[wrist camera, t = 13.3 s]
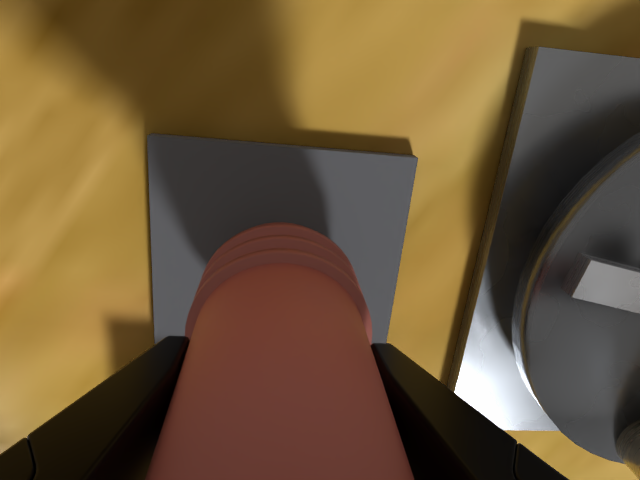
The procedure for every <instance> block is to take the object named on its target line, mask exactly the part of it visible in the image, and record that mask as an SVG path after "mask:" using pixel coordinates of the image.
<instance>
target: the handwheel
mask: <svg viewBox="0 0 640 480" xmlns="http://www.w3.org/2000/svg"><path fill="white" fill-rule="evenodd" d="M512 343H513V348H514V354H515V359H516V363H517V366H518V368H519V371H520V374H521V377H522V379H523V381H524V383H525V384H526V386H527V388H528V390H529V391H530V393H531V395H532V396H533V397H534V399H535V400H536V401H537V403H538V404H539V405H540V406H541V408H542V409H543V410H544V412H545V413H546V414H547V415H548V417H549V418H550V419H551V420H552V422H553V423H554V424H555V425H556V426H557V428H558V429H559V430H560V431H561V432H562V433H563V434H564V435H565V436H567V437H568V438H569V439H570V440H571V441H573V442H574V443H575V444H576V445H578V446H580V447H582V448H583V449H585V450H587V451H589V452H590V453H592V454H595V455H597V456H600V457H602V458H605V459H608V460H611V461H615V462H619V463H623V464H626V465H627V466H628V467H629V469H630V470H631V471H632V472H633V473H634V474H635V475H636V477H637V478H638V479H639V480H640V132H639V133H637V134H636V135H634V136H632V137H631V138H629V139H628V140H626V141H625V142H624V143H622V144H621V145H620V146H618V147H617V148H616V149H614V150H613V151H612V152H610V153H609V154H608V155H606V156H605V157H604V158H603V159H602V160H600V161H599V162H598V163H597V164H596V165H595V166H594V167H593V168H592V169H591V170H590V171H589V172H588V173H587V174H585V175H584V176H583V177H582V178H581V179H580V180H579V181H578V183H577V184H576V185H575V186H574V187H573V188H572V189H571V191H570V192H569V193H568V194H567V195H566V196H565V197H564V199H563V200H562V201H561V202H560V203H559V205H558V206H557V208H556V209H555V211H554V212H553V213H552V215H551V216H550V218H549V219H548V221H547V222H546V223H545V225H544V226H543V228H542V230H541V232H540V234H539V236H538V237H537V239H536V241H535V243H534V245H533V247H532V248H531V250H530V253H529V255H528V258H527V260H526V263H525V265H524V268H523V270H522V273H521V275H520V279H519V283H518V287H517V291H516V294H515V298H514V306H513V315H512Z"/></svg>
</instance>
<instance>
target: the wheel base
mask: <svg viewBox="0 0 640 480" xmlns="http://www.w3.org/2000/svg"><path fill="white" fill-rule="evenodd" d="M639 132H640V58H632V57H624V56H615V55H606V54H598V53H589V52H580V51H572V50H563V49H554V48H546V47H528V48H526V53H525V57H524V61H523V65H522V70H521V74H520V78H519V82H518V87H517V91H516V95H515V99H514V104H513V108H512V112H511V116H510V120H509V125H508V129H507V133H506V137H505V142H504V146H503V150H502V154H501V159H500V163H499V167H498V171H497V176H496V180H495V184H494V188H493V193H492V197H491V201H490V205H489V209H488V214H487V218H486V222H485V226H484V231H483V235H482V239H481V243H480V248H479V252H478V256H477V260H476V265H475V269H474V273H473V277H472V282H471V286H470V290H469V294H468V298H467V303H466V307H465V311H464V315H463V320H462V324H461V328H460V332H459V337H458V341H457V345H456V349H455V354H454V358H453V362H452V366H451V371H450V375H449V379H448V383H447V387H448V388H449V389H450V390H451V391H453V392H454V393H455V394H457V395H458V396H459V397H461V398H462V399H463V400H464V401H466V402H467V403H468V404H470V405H471V406H472V407H474V408H475V409H476V410H477V411H479V412H480V413H481V414H483V415H484V416H485V417H487V418H488V419H489V420H490V421H492V422H493V423H494V424H496V425H497V426H498V427H500V428H501V429H502V430H537V431H560V430H559V429H558V428H557V426H556V425H555V424H554V423H553V422H552V420H551V419H550V418H549V417H548V415H547V414H546V413H545V412H544V410H543V409H542V408H541V406H540V405H539V404H538V403H537V401H536V400H535V399H534V397H533V396H532V395H531V393H530V391H529V390H528V388H527V386H526V384H525V383H524V381H523V379H522V377H521V374H520V371H519V368H518V366H517V363H516V359H515V354H514V348H513V343H512V315H513V306H514V298H515V294H516V291H517V287H518V283H519V279H520V275H521V273H522V270H523V268H524V265H525V263H526V260H527V258H528V255H529V253H530V250H531V248H532V247H533V245H534V243H535V241H536V239H537V237H538V236H539V234H540V232H541V230H542V228H543V226H544V225H545V223H546V222H547V221H548V219H549V218H550V216H551V215H552V213H553V212H554V211H555V209H556V208H557V206H558V205H559V203H560V202H561V201H562V200H563V199H564V197H565V196H566V195H567V194H568V193H569V192H570V191H571V189H572V188H573V187H574V186H575V185H576V184H577V183H578V181H579V180H580V179H581V178H582V177H583V176H584V175H585V174H587V173H588V172H589V171H590V170H591V169H592V168H593V167H594V166H595V165H596V164H597V163H598V162H599V161H600V160H602V159H603V158H604V157H605V156H606V155H608V154H609V153H610V152H612V151H613V150H614V149H616V148H617V147H618V146H620V145H621V144H622V143H624V142H625V141H626V140H628V139H629V138H631V137H632V136H634V135H636V134H637V133H639Z"/></svg>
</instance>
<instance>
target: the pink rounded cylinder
mask: <svg viewBox="0 0 640 480" xmlns="http://www.w3.org/2000/svg"><path fill="white" fill-rule="evenodd" d="M185 336H187V337H189V339H190V342H189V345H188V348H187V351H186V354H185V358H184V361H183V364H182V367H181V370H180V373H179V376H178V379H177V382H176V385H175V388H174V392H173V395H172V398H171V401H170V404H169V407H168V410H167V413H166V416H165V419H164V422H163V425H162V429H161V432H160V435H159V438H158V441H157V444H156V447H155V450H154V453H153V456H152V459H151V463H150V466H149V469H148V472H147V475H146V478H145V480H414V477H413V474H412V470H411V467H410V464H409V461H408V458H407V455H406V452H405V449H404V446H403V443H402V440H401V437H400V434H399V431H398V428H397V425H396V422H395V419H394V416H393V413H392V410H391V407H390V403H389V400H388V397H387V394H386V391H385V388H384V385H383V382H382V379H381V376H380V373H379V370H378V367H377V364H376V361H375V358H374V355H373V352H372V349H371V346H370V345H371V342H372V322H371V317H370V313H369V310H368V307H367V304H366V302H365V299H364V297H363V294H362V291H361V288H360V286H359V283H358V280H357V277H356V275H355V272H354V269H353V267H352V265H351V263H350V261H349V259H348V258H347V256H346V255H345V254H344V252H343V251H342V250H341V249H340V248H339V247H338V246H337V245H336V244H335V243H334V242H333V241H332V240H330V239H329V238H328V237H326V236H325V235H323V234H321V233H319V232H317V231H315V230H312V229H310V228H307V227H304V226H301V225H297V224H293V223H285V222H275V223H266V224H262V225H258V226H255V227H252V228H250V229H247V230H244V231H242V232H240V233H238V234H237V235H235V236H233V237H232V238H230V239H229V240H228V241H226V242H225V243H224V244H223V245H222V246H221V247H220V248H219V249H217V251H216V252H215V253H214V254H213V256H212V257H211V258H210V260H209V262H208V264H207V265H206V268H205V270H204V273H203V275H202V278H201V280H200V284H199V286H198V289H197V291H196V294H195V297H194V300H193V303H192V305H191V308H190V311H189V313H188V317H187V321H186V325H185Z"/></svg>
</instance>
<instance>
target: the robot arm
mask: <svg viewBox="0 0 640 480" xmlns="http://www.w3.org/2000/svg"><path fill="white" fill-rule="evenodd" d="M189 342H190V339H189V337H187V336H167V337H165V338H164V339H162V340H161V341H159V342H158V343H157V344H155V345H154V346H152V347H151V348H150V349H148V350H147V351H145V352H144V353H143V354H141V355H140V356H138V357H137V358H135V359H134V360H133V361H131V362H130V363H128V364H127V365H126V366H124V367H123V368H121V369H120V370H119V371H117V372H116V373H114V374H113V375H112V376H110V377H109V378H107V379H106V380H104V381H103V382H102V383H100V384H99V385H97V386H96V387H95V388H93V389H92V390H90V391H89V392H88V393H86V394H85V395H83V396H82V397H81V398H79V399H78V400H76V401H75V402H74V403H72V404H71V405H69V406H68V407H66V408H65V409H64V410H62V411H61V412H59V413H58V414H57V415H55V416H54V417H52V418H51V419H50V420H48V421H47V422H45V423H44V424H43V425H41V426H40V427H38V428H37V429H35V430H34V431H33V432H31V433H30V434H29V435H28V436H27V438H23V439H21V440H20V441H18V442H17V443H16V444H14V445H13V446H11V447H10V448H8V449H7V450H6V451H4V452H3V453H1V454H0V480H145V478H146V475H147V472H148V469H149V466H150V463H151V459H152V456H153V453H154V450H155V447H156V444H157V441H158V438H159V435H160V432H161V429H162V425H163V422H164V419H165V416H166V413H167V410H168V407H169V404H170V401H171V398H172V395H173V392H174V388H175V385H176V382H177V379H178V376H179V373H180V370H181V367H182V364H183V361H184V358H185V354H186V351H187V348H188V345H189ZM370 346H371V349H372V352H373V355H374V358H375V361H376V364H377V367H378V370H379V373H380V376H381V379H382V382H383V385H384V388H385V391H386V394H387V397H388V400H389V403H390V407H391V410H392V413H393V416H394V419H395V422H396V425H397V428H398V431H399V434H400V437H401V440H402V443H403V446H404V449H405V452H406V455H407V458H408V461H409V464H410V467H411V470H412V474H413V477H414V480H569V479H567V478H566V477H564V476H563V475H562V474H560V473H559V472H558V471H556V470H555V469H554V468H552V467H551V466H550V465H548V464H547V463H546V462H544V461H543V460H541V459H540V458H539V457H537V456H536V455H535V454H534V453H532V452H531V451H530V450H528V449H527V448H526V447H524V446H523V445H522V444H520V443H518V444H517V441H516V440H515V439H514V438H513V437H511V436H510V435H509V434H507V433H506V432H505V431H503V430H502V429H501V428H500V427H498V426H497V425H496V424H494V423H493V422H492V421H490V420H489V419H488V418H487V417H485V416H484V415H483V414H481V413H480V412H479V411H477V410H476V409H475V408H474V407H472V406H471V405H470V404H468V403H467V402H466V401H464V400H463V399H462V398H461V397H459V396H458V395H457V394H455V393H454V392H453V391H451V390H450V389H449V388H448V387H446V386H445V385H444V384H442V383H441V382H440V381H438V380H437V379H436V378H435V377H433V376H432V375H431V374H429V373H428V372H427V371H425V370H424V369H423V368H422V367H420V366H419V365H418V364H416V363H415V362H414V361H412V360H411V359H410V358H409V357H407V356H406V355H405V354H403V353H402V352H401V351H399V350H398V349H397V348H396V347H394V346H393V345H391V344H389V343H372V344H371V345H370Z"/></svg>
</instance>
